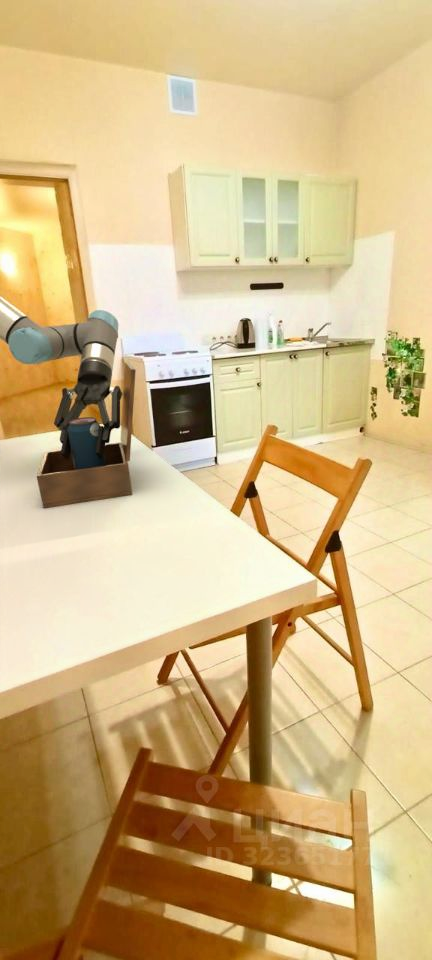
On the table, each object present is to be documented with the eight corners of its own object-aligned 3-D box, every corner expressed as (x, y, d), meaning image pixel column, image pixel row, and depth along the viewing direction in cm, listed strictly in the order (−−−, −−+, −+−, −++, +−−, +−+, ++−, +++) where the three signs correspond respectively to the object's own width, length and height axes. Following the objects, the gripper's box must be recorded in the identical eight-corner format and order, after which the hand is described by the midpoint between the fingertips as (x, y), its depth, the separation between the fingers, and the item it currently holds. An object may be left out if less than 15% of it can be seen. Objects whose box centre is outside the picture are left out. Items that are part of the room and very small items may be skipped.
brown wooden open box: (43, 508, 89) (36, 476, 87) (50, 479, 105) (44, 451, 103) (132, 494, 93) (128, 463, 90) (126, 468, 109) (122, 442, 106)
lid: (131, 369, 85) (135, 369, 85) (124, 361, 101) (128, 361, 101) (125, 461, 90) (129, 461, 90) (120, 440, 106) (123, 440, 106)
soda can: (113, 470, 101) (105, 418, 97) (86, 479, 96) (77, 425, 92) (95, 465, 105) (87, 415, 101) (69, 473, 101) (59, 421, 96)
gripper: (141, 376, 108) (132, 462, 98) (62, 380, 110) (45, 464, 100) (133, 356, 101) (121, 446, 91) (48, 360, 103) (29, 449, 93)
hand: (82, 455), depth 96 cm, fingers closed on soda can, 7 cm apart
